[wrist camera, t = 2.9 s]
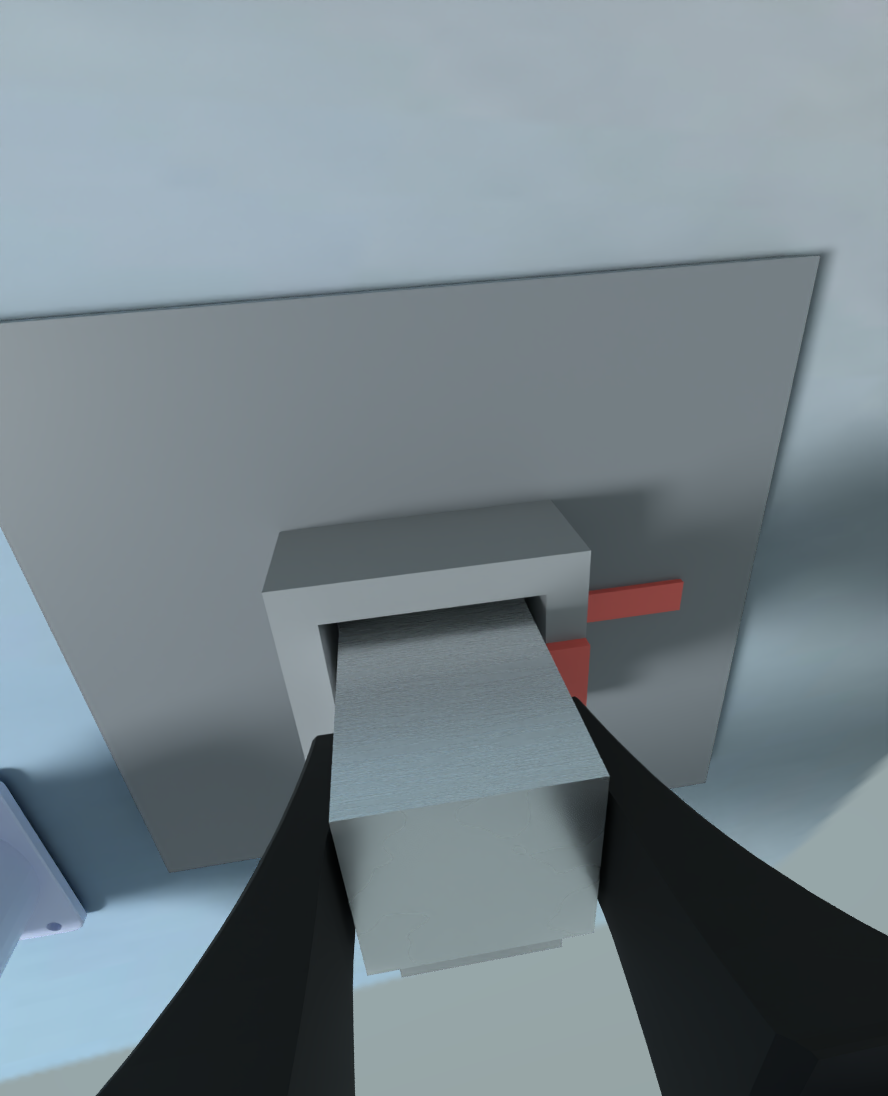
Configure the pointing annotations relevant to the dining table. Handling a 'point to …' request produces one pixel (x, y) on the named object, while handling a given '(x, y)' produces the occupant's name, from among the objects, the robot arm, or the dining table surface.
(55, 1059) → the dining table surface
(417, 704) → the white rectangular block
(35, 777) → the dining table surface
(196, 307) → the jack base
